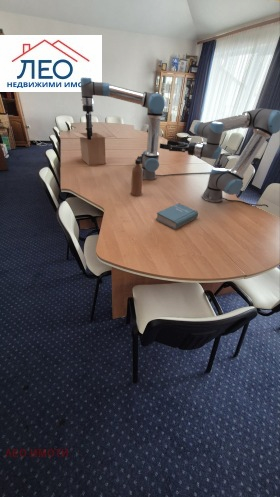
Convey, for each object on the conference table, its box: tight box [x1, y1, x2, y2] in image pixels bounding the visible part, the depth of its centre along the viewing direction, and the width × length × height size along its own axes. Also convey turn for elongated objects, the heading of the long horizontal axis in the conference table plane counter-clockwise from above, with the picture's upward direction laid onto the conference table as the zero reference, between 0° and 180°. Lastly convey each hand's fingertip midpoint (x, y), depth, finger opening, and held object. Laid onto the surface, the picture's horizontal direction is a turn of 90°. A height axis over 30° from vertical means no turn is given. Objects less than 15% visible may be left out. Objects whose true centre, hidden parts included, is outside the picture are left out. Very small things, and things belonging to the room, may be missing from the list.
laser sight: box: [136, 153, 143, 164], centre depth 240 cm, size 10×22×10 cm, turn 78°
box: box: [70, 129, 114, 166], centre depth 229 cm, size 44×36×27 cm
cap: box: [134, 158, 142, 165], centre depth 158 cm, size 4×4×2 cm
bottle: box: [130, 164, 143, 197], centre depth 165 cm, size 8×8×25 cm
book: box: [155, 203, 199, 230], centre depth 142 cm, size 23×16×5 cm
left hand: (90, 137), depth 170 cm, fingers open, 13 cm apart
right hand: (163, 144), depth 145 cm, fingers open, 13 cm apart
